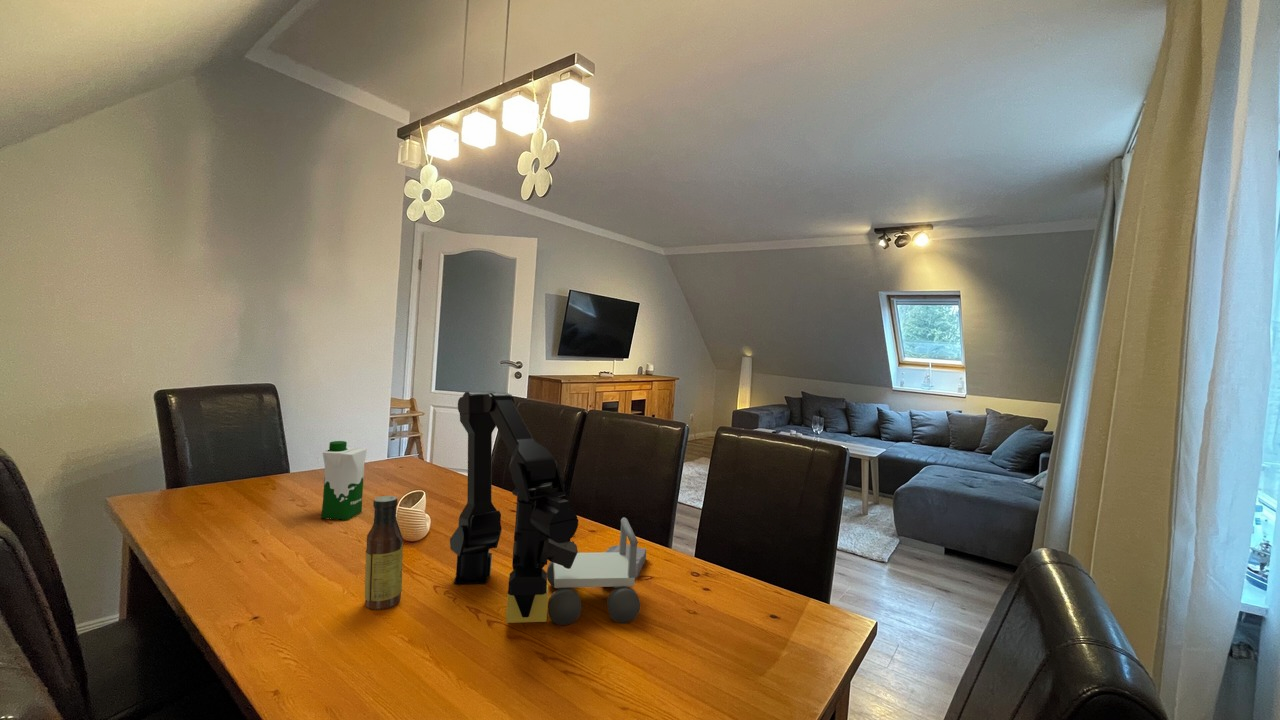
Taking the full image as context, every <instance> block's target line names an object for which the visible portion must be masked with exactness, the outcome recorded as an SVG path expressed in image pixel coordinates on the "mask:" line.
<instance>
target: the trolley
mask: <svg viewBox="0 0 1280 720" xmlns="http://www.w3.org/2000/svg"><path fill="white" fill-rule="evenodd" d="M634 532H635V531H633V528H632V527H631V525H630V522H629V520H628V518H626V517H622V518H621V519H620V534H619V535H620V536H619V545H620V547H619V552H605V551H604V552H603V551H602V552H597V551H596V552H578V553H577V555H576V557H575V560H574V562H573V564H572V567H571V568H570V569H567V568H564V566H562V565H559V564H556V563H553V562H551V561H549V563H548V564H547V565H548V566H547V569H546V573H547V582H548V584H549V585H550V586H552V587H553V588H555V589H556V590H555V591H554V592H553V593H551V595H550V596H549V597H548V603H547V615H548V617H549V619H550V620H551V621H552V622H553V623H554V624H556V625H558V626H568V625H570V624H572V623H574V622H575V621H576V620H577V619H578V618H580V615H581V613H582V602H581V597H580V595H579V593H578V592H577V590H575V589H573V588H600V587H601V588H602V587H603V588H604V587H605V588H606V587H607V588H612V589H613V588H614V589H613V590H612V591H611V592H610V593H609V595H608V597H607V599H606V600H607V601H606V607H607V610H608V613H609V617H610V618H611V620H613V621H615V623H619V624H627V623H630V622H632V621H633V620H635V619H636V618H637V616H638V615H639V613H640V611H641V600H640V598H639V596H638V593H637V592H636V591H635V589H633V588H632V587H635V582H636V579H635V568H636V554H637V547H638V543H639V542H638V538H637V537H636V535H635V533H634ZM627 540H628V541H629V545H630V547H629V562H628V559H627V557H626V545H627Z"/></svg>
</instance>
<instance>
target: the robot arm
mask: <svg viewBox="0 0 1280 720" xmlns="http://www.w3.org/2000/svg"><path fill="white" fill-rule="evenodd" d="M457 410H458V413H459V422H460V424H461V426H463V428H464V430H465V431H466V433H467V502H466V505H464V507H463V508H462V511H461V513H460V514H459V518H458V527H457V528H456V529H455V531H454V532H453V534H452V535H451V537H450V538H449V546H450V547H449V548H450V550H451V551H452V552H453V553H454V554H455V555H456V569H455V570H456V573H455V578H454V580H453V584H454V585H461V584H462V585H467V584H468V585H469V584H486V583H487V582H488V578H489V577H490V576H491V573H492V561H493V560H492V559H493V553H492V552H490V550H491V549H497V548H498V545H499V541H500V538H501V535H502V534H501V533H502V530H503V529H502V524H501V523H502V522H501V519H502V513H501V512H500V510H497V508H496V507H495V505H494V504H493V501H492V480H493V479H492V467H493V466H492V462H493V461H492V459H493V458H492V456H493V455H492V453H493V452H492V451H493V447H492V444H493V441H492V437H493V436H492V435H493V433H494V430H495V428H496V429H497V431H498V432H499V434H500V435H499V436H500V437H501V439H502V441H503V442H504V444H505V446H506V447H505V448H507V450H508V453H509V456H510V462H509V466H508V468H509V469H508V470H509V472H510V475H511V480H512V482H513V484H514V486H515V488H514V489H513V490H512V492H511V494H512V495H514V496H515V497H516V509H515V510H516V511H515V523H514V534H513V547H512V562H511V565H512V566H511V567H512V569H513V570H512V571H511V572H510V573H509V578H508V585H507V586H508V587H507V595H508V594H509V595H514V597H515V600H516V602H517V605H518V607H519V610H520V612H521V615H522V617H529V614H530V611H531V607H532V604H533V600H534V597H535V595H543V594H545V593H546V590H547V582H548V579H547V571H545V570H544V567H545V566H547V565H548V561H549V562H553V563H556V564H559V565H562V566H564V568H567V569H570V568H571V567H572V564H573V562H574V560H575V557H576V555H577V553H579V551H578V545H577V544H576V543H575V541H574V540H572V541H571V539H572V538H573V537H574V536H575V534H576V533H577V530H578V527H579V519H578V515H577V513H576V511H574V510H573V509H572V508H570V501H569V500H567V499H563V498H561V497H563V496H566V495H567V493H566V489H565V486H566V484H565V482H564V480H563V477H562V476H561V473H560V469H559V467H558V462H557V461H556V459H555V458H554V456H553V455H552V453H550V451H549V450H548V449H547V447H545V446H543V445H542V444H540V443H538V442H537V441H536V440H535V439H534V438H533V436H532V434H531V432H530V430H529V428H528V427H527V425H526V423H525V422H524V420H523V418H522V416H521V414H520V413H519V411H518V408H517V407H516V405H515V400H514V396H513V395H512V394H510V393H509V392H495V391H465V392H464V393H463V394H462V396H461V397H459V399H458V401H457ZM549 486H550V487H549Z"/></svg>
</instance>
